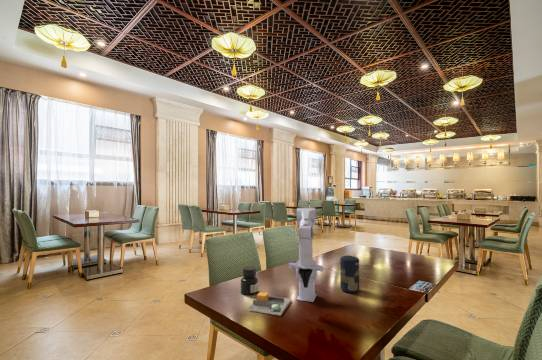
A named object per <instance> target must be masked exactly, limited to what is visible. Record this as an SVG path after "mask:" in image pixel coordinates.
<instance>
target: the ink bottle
mask: <svg viewBox="0 0 542 360" xmlns="http://www.w3.org/2000/svg"><path fill="white" fill-rule="evenodd" d="M258 291H259V278H258V277H257V268H256V266H245V267H242V277H241V278H240V293H241V294H242V295H245V296H253V295H257V294H258V293H259V292H258Z"/></svg>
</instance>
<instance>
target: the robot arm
mask: <svg viewBox="0 0 542 360" xmlns="http://www.w3.org/2000/svg"><path fill="white" fill-rule="evenodd" d="M316 219H317V209H316V208H315V207H297V208H296V222H297V225H298V226H299V227H297V239H298V260H297V261H296V262H289V263H288V269H290V270H292V269H295V277H296V278H297V279H298V296H297V297H296V301H302V302H310V303H311V302H312V303H314V301H315V299H316V297H317V293H316V292H315V291H316V290H315V289H316V288H315V286H316V285H315V280H316V279H317V274H318V272H323V271H324V265H319V264H317V262H316V261H315V260H314V259H313V240H314V226H316V223H317V222H316Z"/></svg>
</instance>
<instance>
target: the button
mask: <svg viewBox="0 0 542 360" xmlns="http://www.w3.org/2000/svg"><path fill="white" fill-rule="evenodd" d="M271 309H272V310H279V305H278V304H273V305H272V306H271Z"/></svg>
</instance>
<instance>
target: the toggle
mask: <svg viewBox="0 0 542 360" xmlns="http://www.w3.org/2000/svg"><path fill="white" fill-rule="evenodd" d="M268 296H269V293H268V292H264V291H262V292H261V291H260V292H258V293H257V294H256V300H259V301H266V302H267V301H268Z"/></svg>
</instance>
